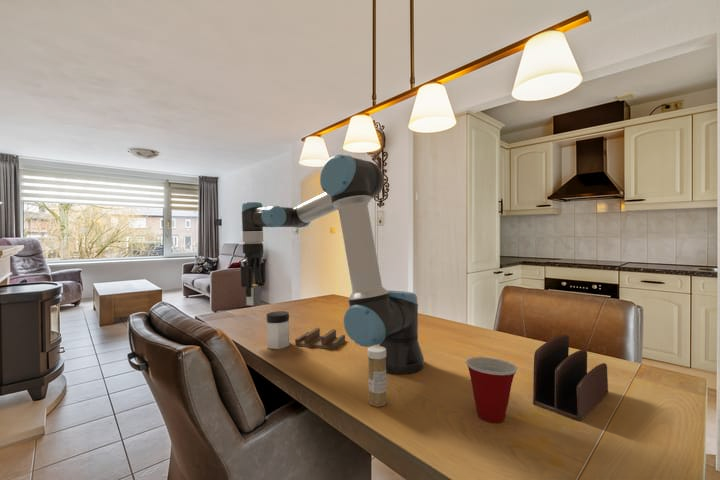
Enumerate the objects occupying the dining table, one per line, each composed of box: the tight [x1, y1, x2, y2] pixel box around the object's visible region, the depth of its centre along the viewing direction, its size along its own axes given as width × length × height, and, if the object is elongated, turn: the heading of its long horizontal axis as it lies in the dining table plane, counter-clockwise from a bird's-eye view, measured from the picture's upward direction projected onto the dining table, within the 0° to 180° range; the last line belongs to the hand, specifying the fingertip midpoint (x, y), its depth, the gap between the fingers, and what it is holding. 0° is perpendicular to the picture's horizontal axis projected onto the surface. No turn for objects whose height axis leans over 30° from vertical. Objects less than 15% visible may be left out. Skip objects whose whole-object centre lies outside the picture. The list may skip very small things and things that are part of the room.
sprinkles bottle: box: [367, 345, 387, 407], centre depth 82 cm, size 5×5×13 cm
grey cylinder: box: [245, 283, 262, 307], centre depth 130 cm, size 4×4×8 cm
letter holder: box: [532, 334, 609, 422], centre depth 83 cm, size 10×20×14 cm, turn 129°
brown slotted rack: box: [294, 327, 346, 350], centre depth 128 cm, size 16×10×4 cm, turn 71°
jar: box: [266, 310, 290, 350], centre depth 126 cm, size 9×8×12 cm
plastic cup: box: [465, 356, 518, 424], centre depth 76 cm, size 11×11×12 cm
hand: (254, 303), depth 130 cm, fingers closed on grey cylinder, 4 cm apart
